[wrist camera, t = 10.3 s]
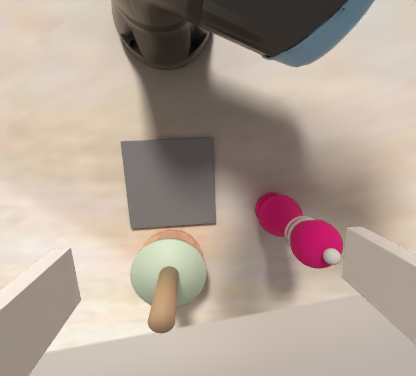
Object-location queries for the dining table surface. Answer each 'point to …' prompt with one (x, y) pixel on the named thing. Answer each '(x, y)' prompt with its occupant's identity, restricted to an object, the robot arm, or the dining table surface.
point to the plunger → (167, 279)
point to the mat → (169, 182)
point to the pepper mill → (300, 231)
